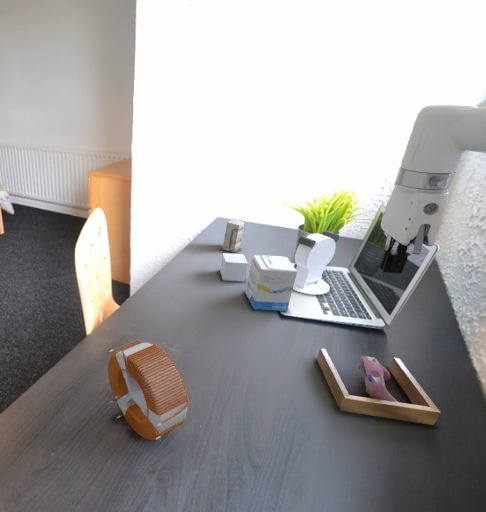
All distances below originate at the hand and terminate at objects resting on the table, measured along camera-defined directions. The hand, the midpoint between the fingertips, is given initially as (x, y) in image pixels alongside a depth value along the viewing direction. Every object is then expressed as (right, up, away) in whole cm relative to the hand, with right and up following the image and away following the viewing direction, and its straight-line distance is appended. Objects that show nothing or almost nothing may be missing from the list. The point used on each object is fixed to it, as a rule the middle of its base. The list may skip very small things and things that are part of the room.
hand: (390, 270), depth 73 cm
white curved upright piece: (+3, -5, +32) cm, 32 cm away
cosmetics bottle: (-10, +5, +54) cm, 55 cm away
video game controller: (-6, -23, -4) cm, 24 cm away
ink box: (-13, -9, +24) cm, 29 cm away
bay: (-7, -22, -3) cm, 23 cm away
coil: (-51, -26, -9) cm, 58 cm away
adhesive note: (-17, -3, +37) cm, 41 cm away
